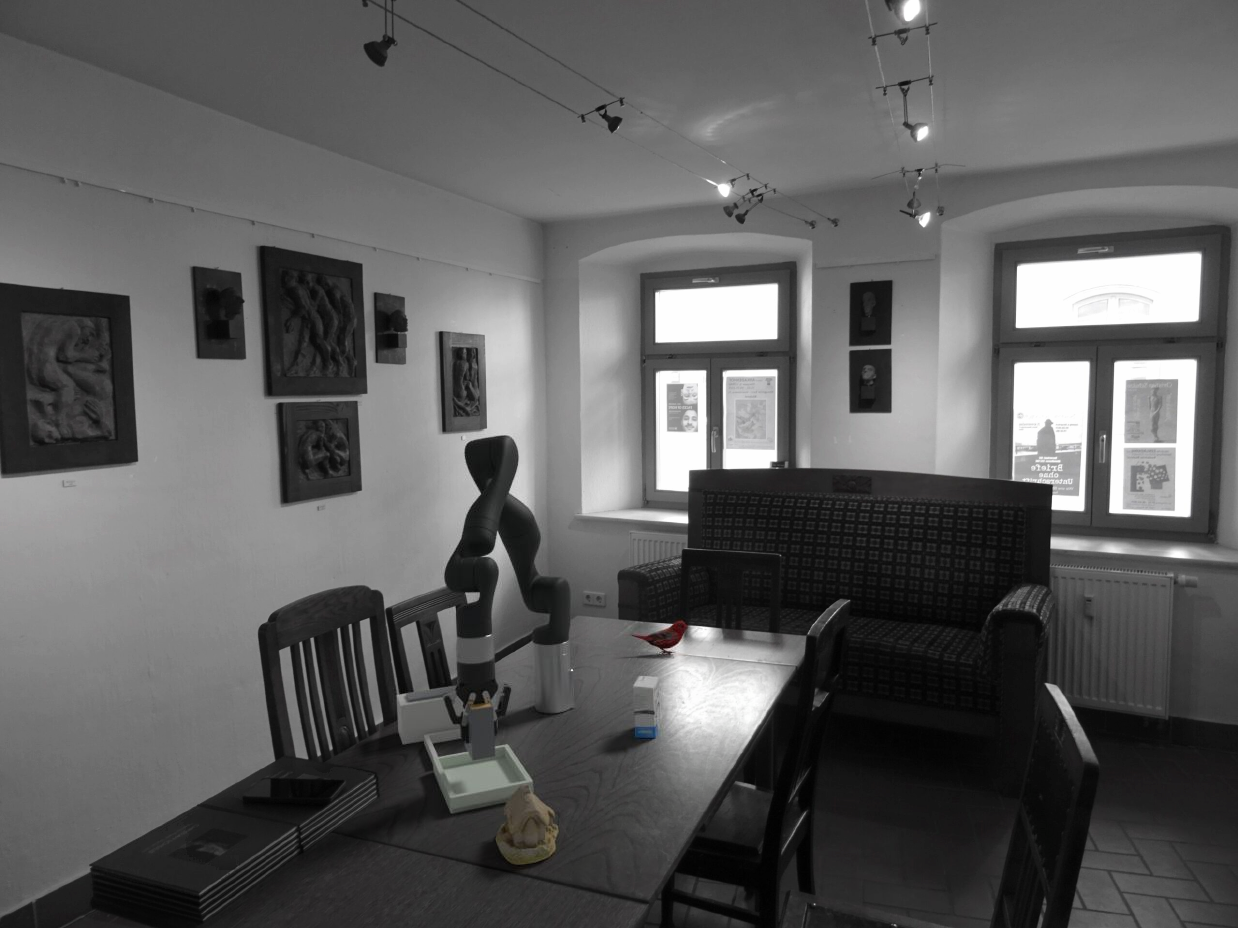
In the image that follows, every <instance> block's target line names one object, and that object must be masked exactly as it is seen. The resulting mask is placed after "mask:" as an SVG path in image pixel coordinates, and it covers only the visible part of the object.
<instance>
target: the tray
mask: <svg viewBox="0 0 1238 928" xmlns="http://www.w3.org/2000/svg"><path fill="white" fill-rule="evenodd" d="M432 768H433V771H432V772H433V774H434V777H435V779H436V781H437V784H438V786H439V789H440V791H441V793H442V796H443V798H444V800H445V803H446V805H447V807H448V810H449V812H450V814H456V813H462V812H465V811H471V810H477V809H480V808H485V807H489V806H490V807H491V806H494V805H499V804H504V803H505V804H506V803H507V801H508V799H509V798H510V797H511V795H512V794H513V793H514V792H515V791H517V789H518V788H519V786H520V785H526V786H527V785H528V786H529V787H530V791H531V792H532V793H533V794H534V795H535V793H534V781H533V779H532V777H531V776H530V775H529V773H528V772H527V770H526V769H525V767H524V766H523V764H522V763H521V762H520V760H519V758H518V757H517V756H516V754H515V753H514V751H513V749H512V748H511V746H510V745H509V744H508V743H506V744H502V745H496V746H495V757H490V758H484V759H479V760H472V758H471V757H470V755H469V753H468V751H465V752H464V751H463V752H459V753H454V754H453V753H452V754H447V755H443V756H438V757H436V758H433V763H432Z"/></svg>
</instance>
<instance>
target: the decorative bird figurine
mask: <svg viewBox="0 0 1238 928" xmlns="http://www.w3.org/2000/svg"><path fill="white" fill-rule="evenodd" d="M686 629H690V628H689V626H688V625H686V623H685V622H684V621H683V620H678V621H676V622H674V623H673V624H672V625H670V627H667V628H665V629H660V630H658V631H656V632H653V633H651V634H648V635H640V634H639V635H638V634H630V636H632V637H634V638H638V639H641V640H644V641H645V642H647V643H648V644H649V645H650V646H652V647H656V648H658V649H660V650H661V651H659V652H658V654H660V653H661V654H668V655H669V654H672V653H675V651H671V650H667V649H671V648H673V647H675V646H677V645H678V644H679V643H680V642H681V640H682V639H683V636H684V634H685V632H686Z"/></svg>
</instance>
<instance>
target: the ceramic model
mask: <svg viewBox="0 0 1238 928" xmlns="http://www.w3.org/2000/svg"><path fill="white" fill-rule="evenodd" d="M503 811H504V813H503V814H504V816H505V817H506V822H504V823H501V825H500V827H499V829H498V831H497V834H496V836H495V841H496V846H497V847H498V849H499V851H500V853H501V854H502V857H504V858H505V859H506V860H507V862H509V863H510V864H512V865H519V866H520V865H528V864H533V863H538V862H540V861H544V860H545V859H548V858H549V857H551V855H553V853H554V852H555V851H556V849H557V848H556V840H557V836H558V834H559V827H558V825H557V824H556V823H554V819H555V818H556V815H555V811H554V810H553V809H552V808H551V807H549V806H548V805H547V804H545V803H544V802H543V801H541V800H540V798H539V797H538V796H537V795H535V793H534V794H533V793H532V792H531V791H530V787H529V786H528V785H527V786H526V785H520V786H519V788H518V789H517V791H515V792H514V793H513V794H512V795H511V797H510V798H509V799H508V801H507V802H505V805H504V810H503Z"/></svg>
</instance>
